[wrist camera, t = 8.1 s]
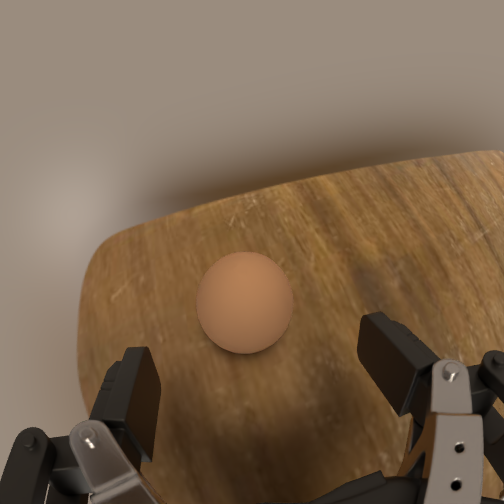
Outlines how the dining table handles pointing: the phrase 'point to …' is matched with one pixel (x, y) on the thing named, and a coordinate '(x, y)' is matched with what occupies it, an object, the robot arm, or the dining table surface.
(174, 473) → the dining table surface
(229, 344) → the egg
